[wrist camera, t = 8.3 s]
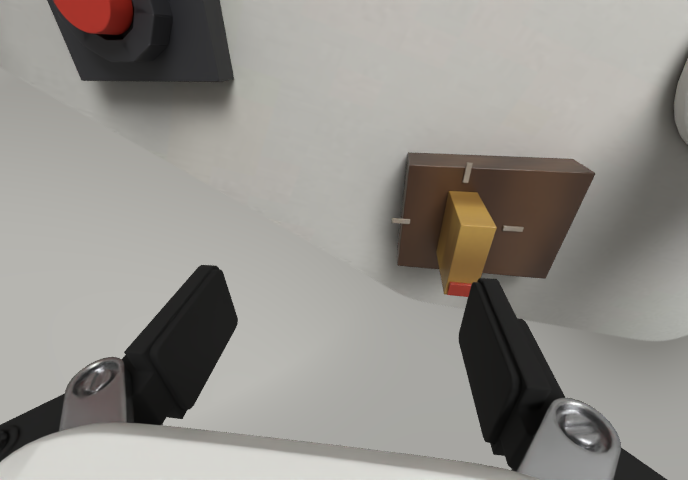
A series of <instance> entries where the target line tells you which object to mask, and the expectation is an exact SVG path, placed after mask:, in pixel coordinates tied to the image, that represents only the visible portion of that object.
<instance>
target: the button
mask: <svg viewBox="0 0 688 480" xmlns="http://www.w3.org/2000/svg"><path fill="white" fill-rule="evenodd" d="M53 1H54V3H55V5H56V6H57V8H58V9H59V11H60V12H61V13H62V15H63V16H64V17H65V18H66V19H67V20H68V21H69V22H70V23H71V24H72V25H74V26H75V27H77V28H78V29H80V30H82V31H84V32H87V33H91V34H110V35H119V34H122V33H124V32H125V31H127V30H128V28H129V27H130V25H131V23H132V19H133V6H132V1H131V0H53Z"/></svg>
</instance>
